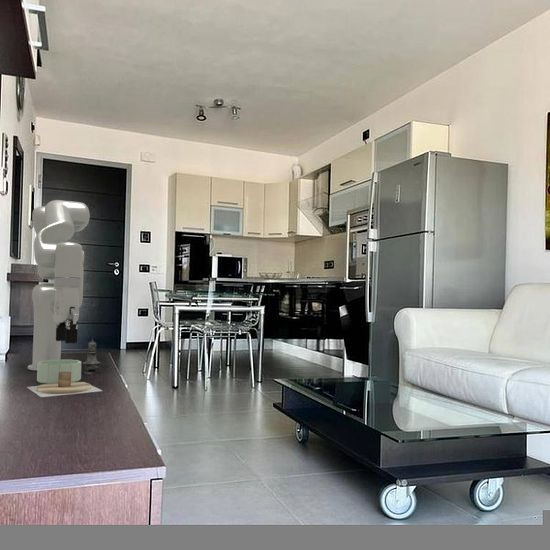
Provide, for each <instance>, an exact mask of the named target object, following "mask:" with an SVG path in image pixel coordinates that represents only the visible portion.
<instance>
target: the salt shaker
mask: <svg viewBox="0 0 550 550" xmlns="http://www.w3.org/2000/svg"><path fill="white" fill-rule="evenodd" d="M86 353H87V358H86V360H85V362H83V363H82V364H83V367H84V369H85V371H83V374H86V375H93V374H94V375H95V374H99V373H100V371H98V370H97V369H99V368H100V364H101V362H100V361H98V359H97V354H98V351H97V343H96V342H95V341H94V339H91V341H89V342H88V343H87V351H86Z"/></svg>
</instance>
